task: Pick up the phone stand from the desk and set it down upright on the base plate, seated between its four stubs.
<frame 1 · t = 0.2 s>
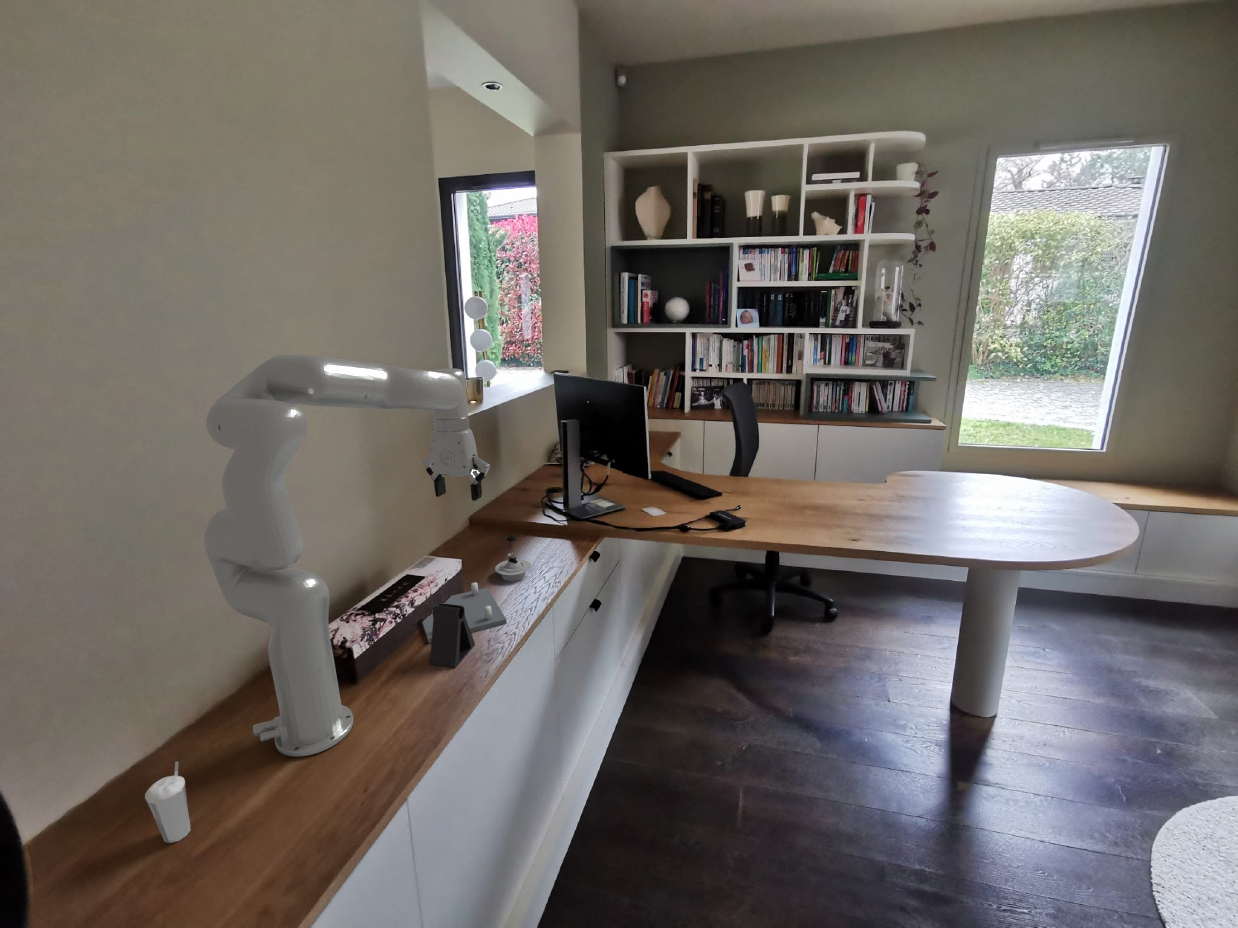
hand: (458, 496, 137), 31 cm above the worktop, tool pointing down, fingers open, 9 cm apart
phone stand: (453, 655, 130), on the worktop
base plate: (460, 615, 145), on the worktop
milkshake: (179, 832, 87), on the worktop
gear: (382, 633, 139), on the worktop
grey round ringed piece: (514, 576, 166), on the worktop
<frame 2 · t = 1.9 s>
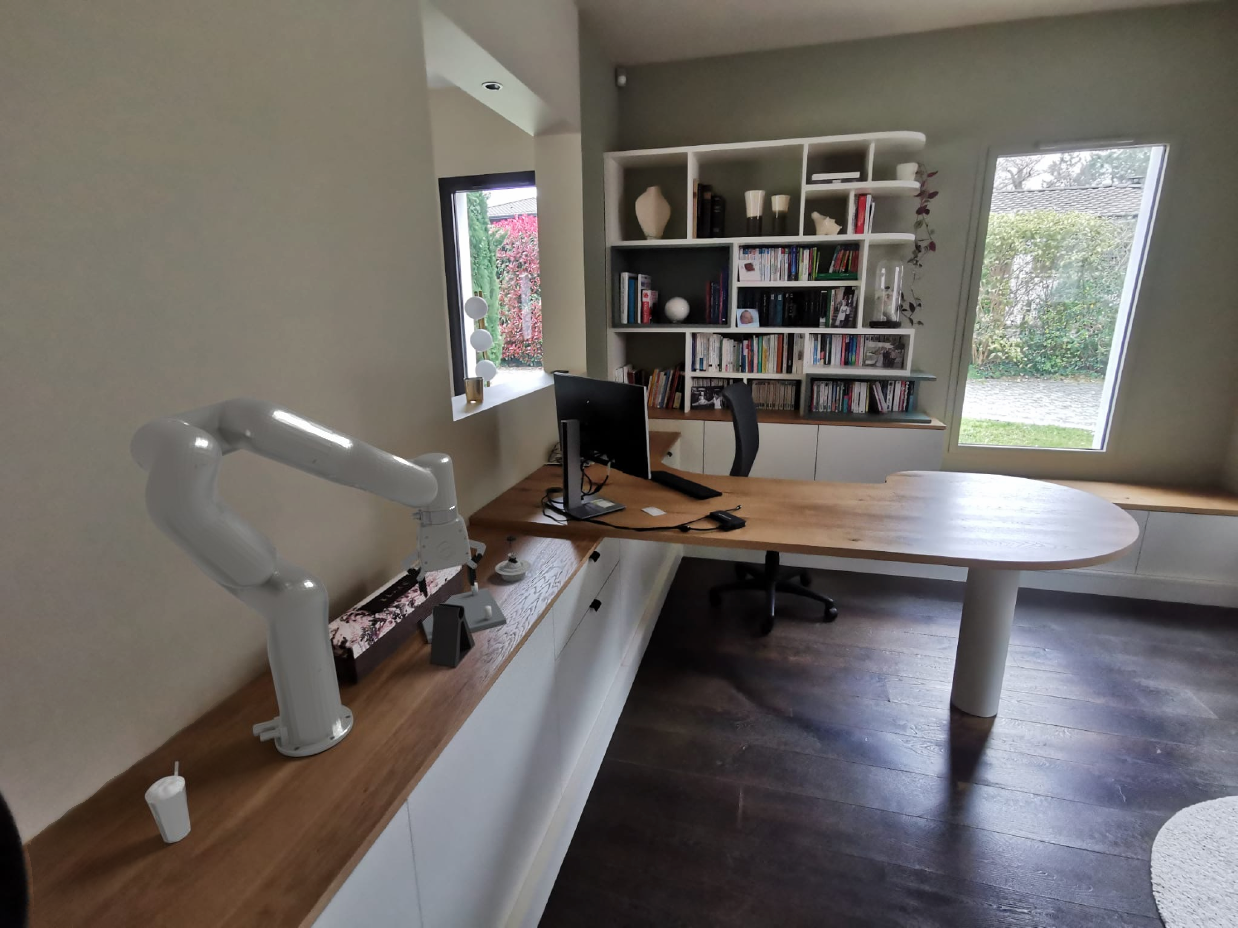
hand: (448, 588, 126), 16 cm above the worktop, tool pointing down, fingers open, 9 cm apart
nothing on the worktop moved.
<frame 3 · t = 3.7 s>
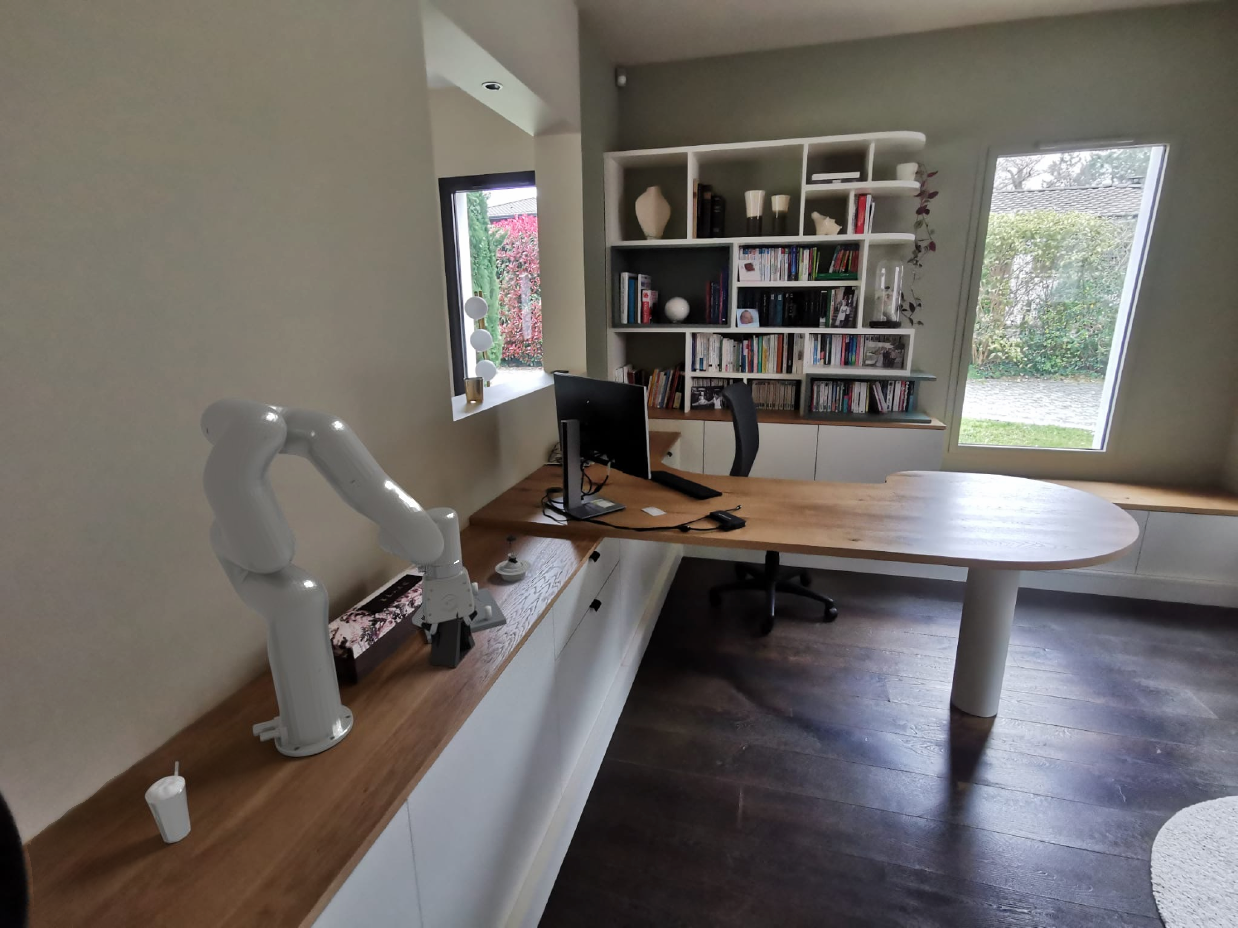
hand: (451, 642, 129), 3 cm above the worktop, tool pointing down, fingers closed on phone stand, 5 cm apart
phone stand: (453, 655, 130), on the worktop, touching gripper
everything else where it was.
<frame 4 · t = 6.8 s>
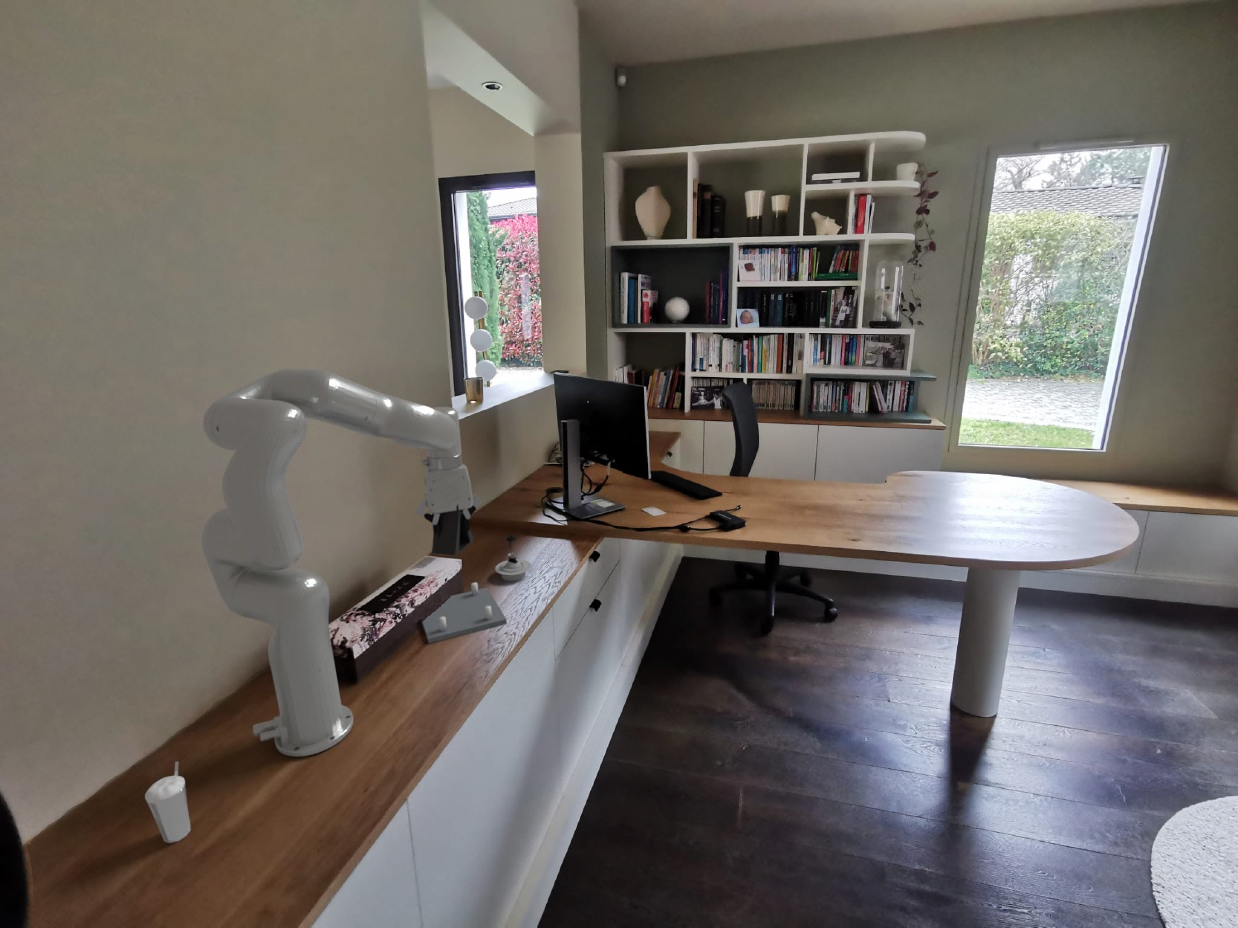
hand: (452, 535, 140), 21 cm above the worktop, tool pointing down, fingers closed on phone stand, 5 cm apart
phone stand: (453, 547, 140), point 18 cm above the worktop, touching gripper
everything else where it was.
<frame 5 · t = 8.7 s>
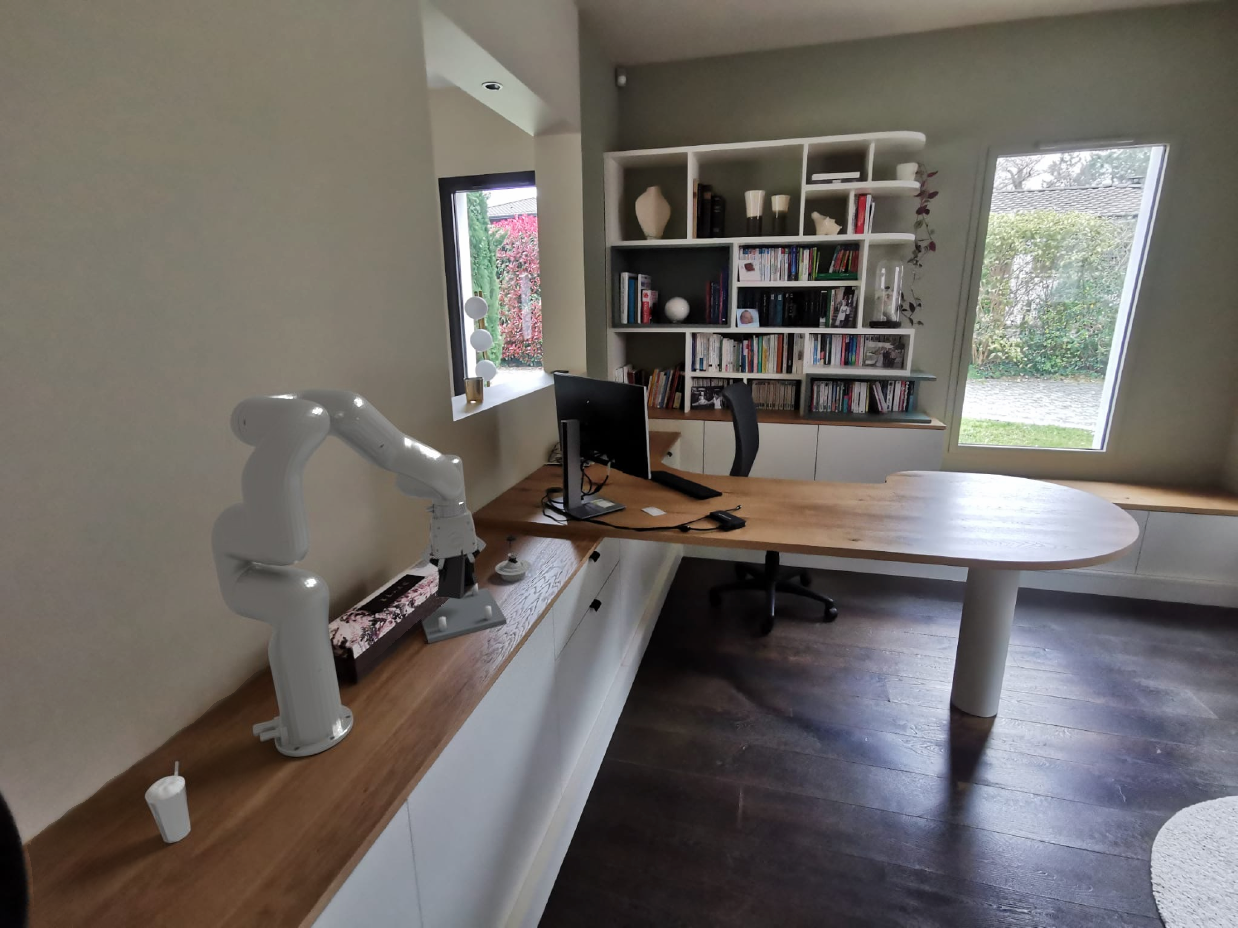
hand: (457, 578, 143), 10 cm above the worktop, tool pointing down, fingers closed on phone stand, 5 cm apart
phone stand: (458, 590, 144), point 7 cm above the worktop, touching gripper
everything else where it was.
when the fingers open (6 cm above the worktop, at t = 10.3 s): phone stand stays where it is, point 2 cm above the worktop.
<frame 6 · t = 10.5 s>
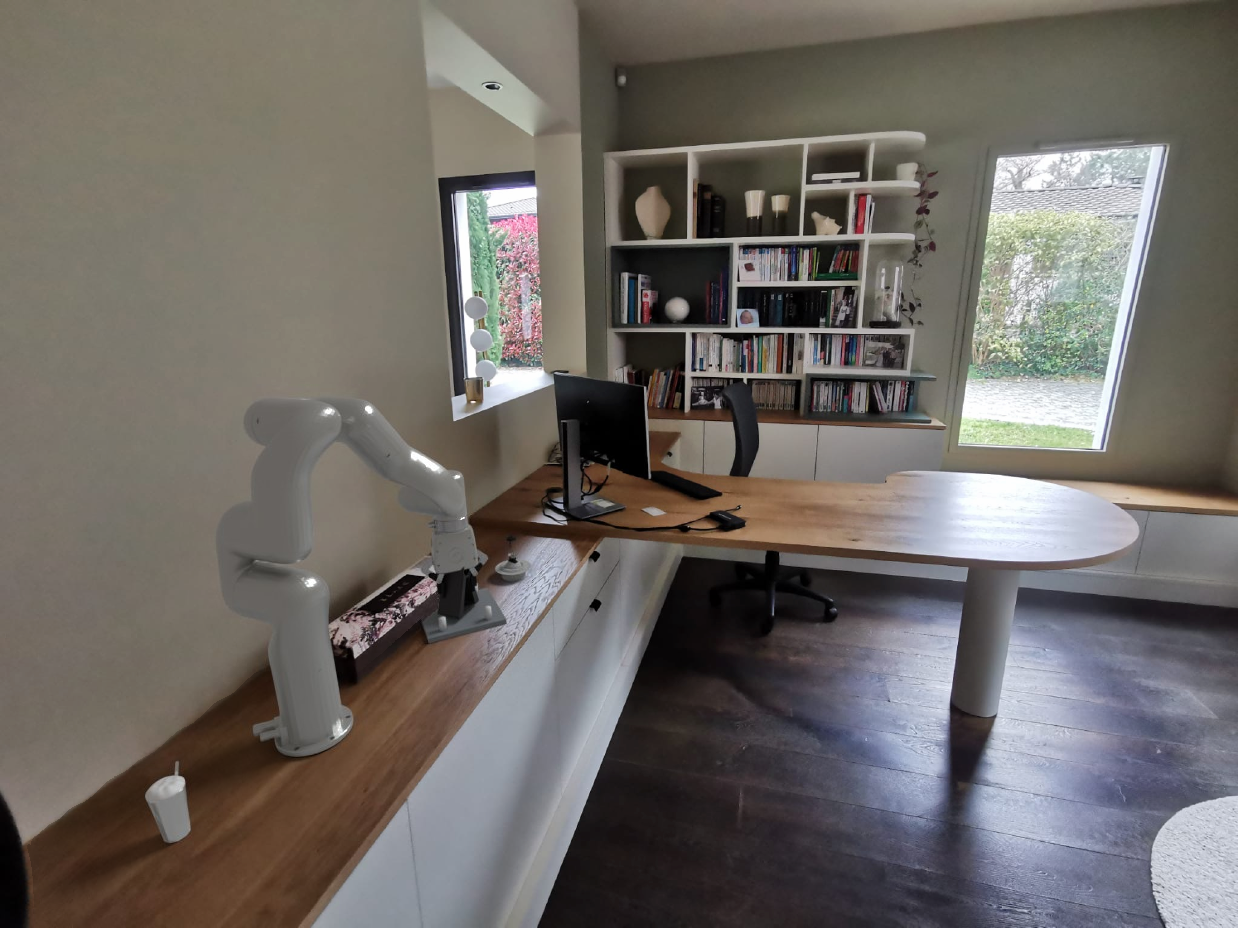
hand: (457, 591, 144), 6 cm above the worktop, tool pointing down, fingers open, 6 cm apart
phone stand: (458, 608, 145), point 2 cm above the worktop, touching gripper
everything else where it was.
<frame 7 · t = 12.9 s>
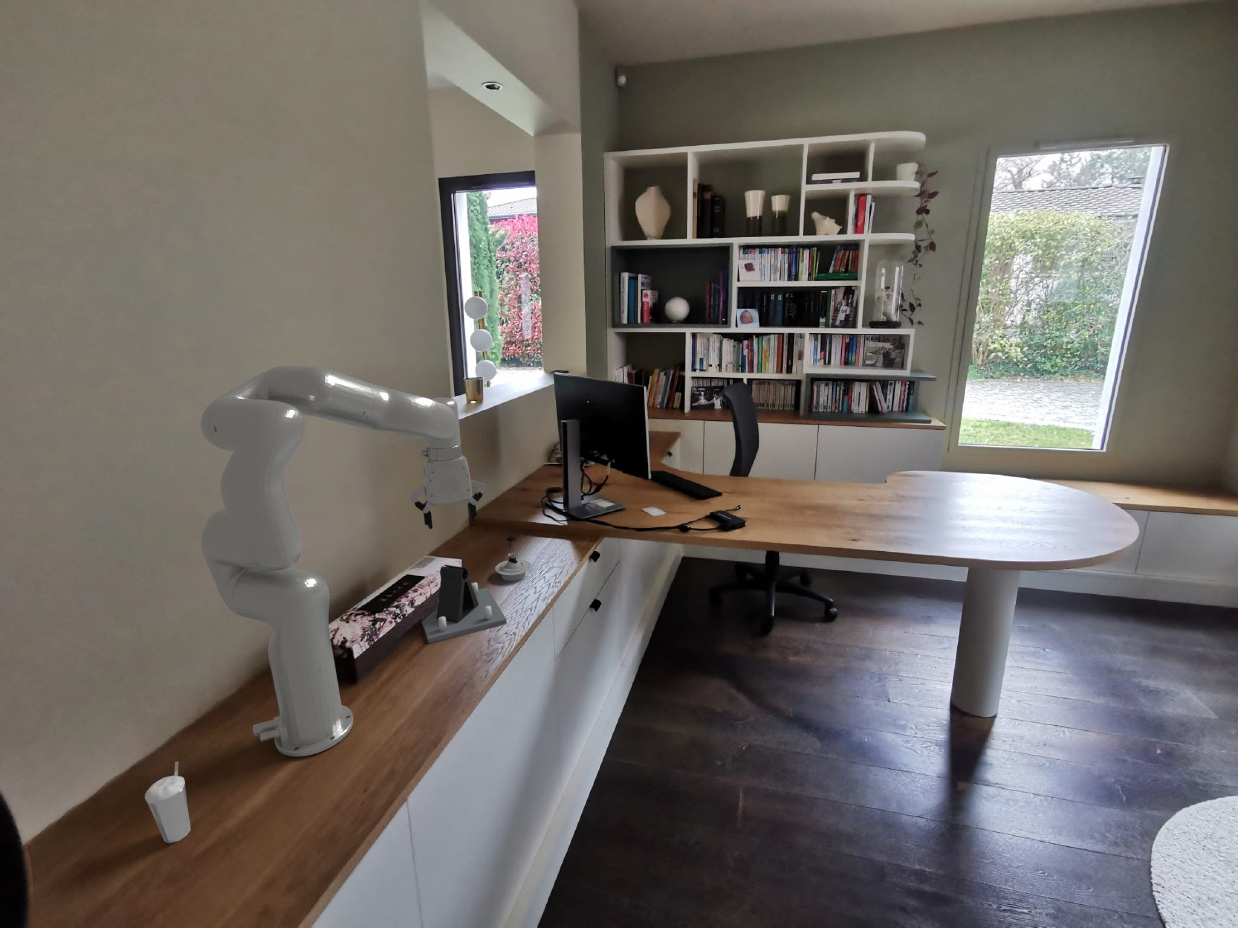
hand: (451, 523, 139), 24 cm above the worktop, tool pointing down, fingers open, 9 cm apart
phone stand: (458, 612, 145), point 1 cm above the worktop, touching base plate
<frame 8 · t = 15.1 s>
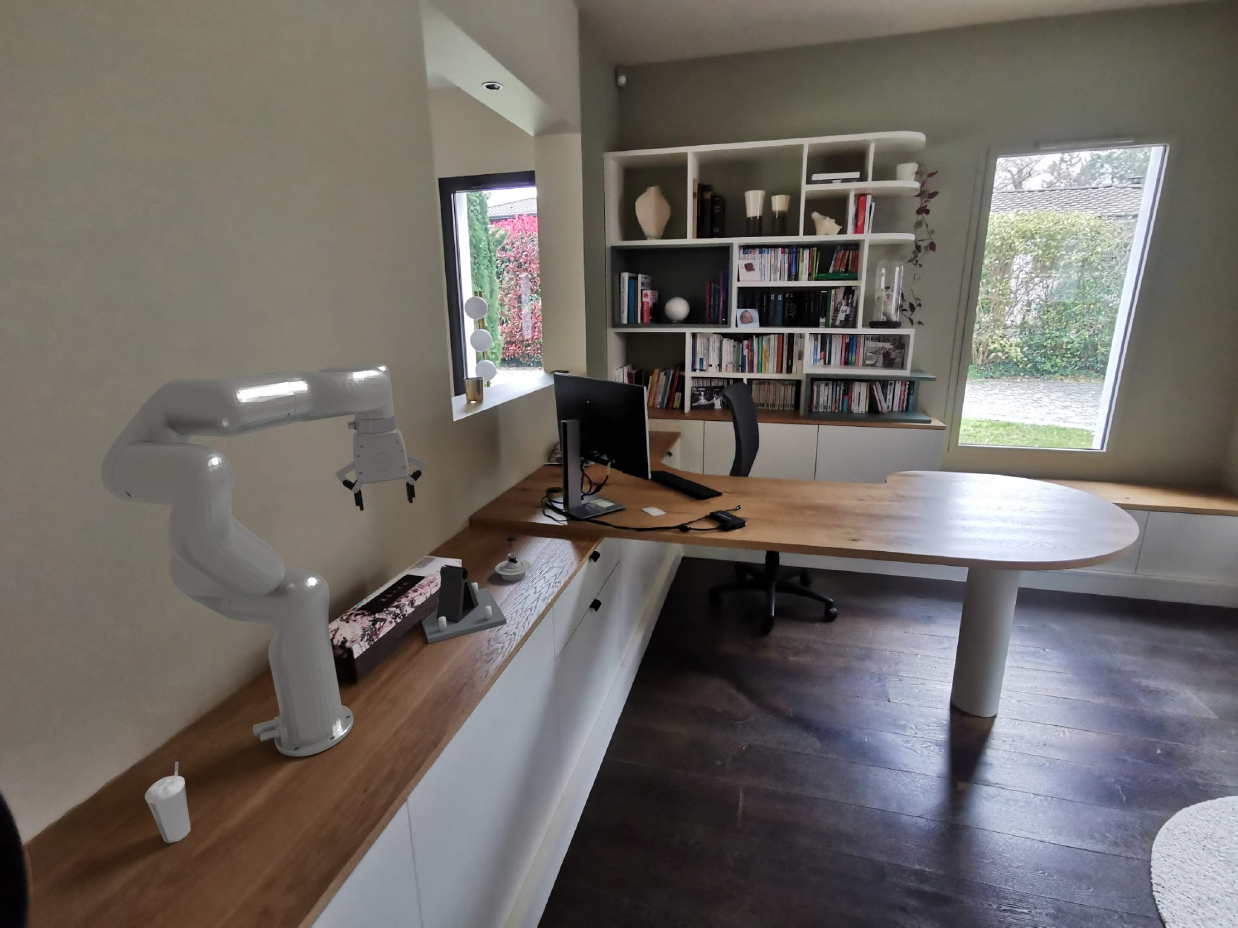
hand: (386, 505, 125), 33 cm above the worktop, tool pointing down, fingers open, 9 cm apart
at the end: phone stand 0.5 cm off-centre on the base plate, point 1.0 cm above the base plate's base; phone stand tilted 0°; the gripper is holding nothing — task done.
